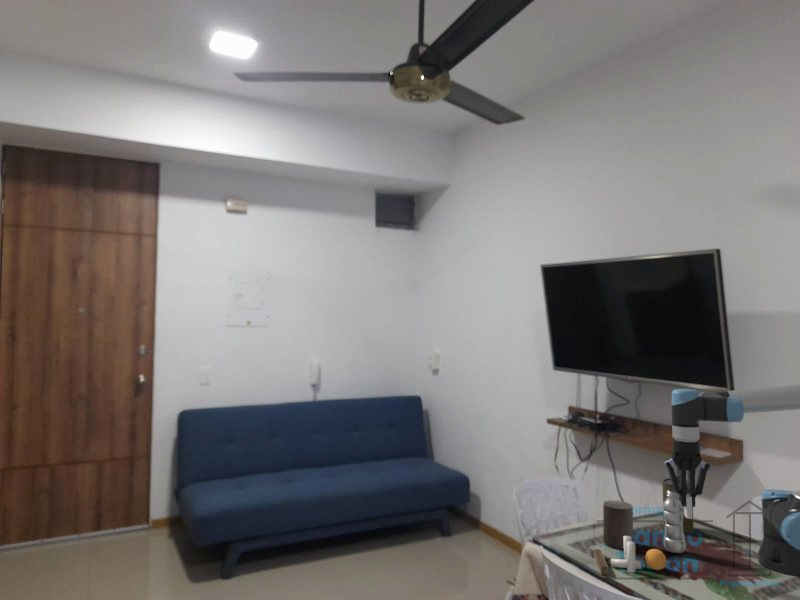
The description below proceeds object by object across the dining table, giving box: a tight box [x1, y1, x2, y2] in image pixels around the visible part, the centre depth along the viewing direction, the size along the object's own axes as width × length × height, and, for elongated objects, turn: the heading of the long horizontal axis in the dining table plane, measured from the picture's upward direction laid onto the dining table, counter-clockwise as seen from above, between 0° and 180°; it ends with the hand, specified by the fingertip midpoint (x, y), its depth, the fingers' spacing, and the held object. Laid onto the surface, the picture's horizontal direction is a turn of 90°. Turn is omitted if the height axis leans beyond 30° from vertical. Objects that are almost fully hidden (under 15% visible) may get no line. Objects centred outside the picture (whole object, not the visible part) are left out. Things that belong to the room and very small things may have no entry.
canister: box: [661, 473, 695, 535], centre depth 211 cm, size 11×10×20 cm
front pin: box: [610, 558, 642, 570], centre depth 176 cm, size 2×2×8 cm
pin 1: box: [623, 536, 632, 560], centre depth 179 cm, size 2×2×8 cm
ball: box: [644, 548, 667, 571], centre depth 175 cm, size 6×6×6 cm
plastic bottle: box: [662, 490, 687, 554], centre depth 189 cm, size 6×7×20 cm
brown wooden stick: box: [593, 548, 609, 576], centre depth 178 cm, size 2×14×2 cm, turn 170°
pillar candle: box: [602, 499, 634, 550], centre depth 196 cm, size 10×10×15 cm
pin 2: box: [626, 541, 637, 574], centre depth 174 cm, size 2×2×8 cm
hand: (688, 517), depth 174 cm, fingers closed
